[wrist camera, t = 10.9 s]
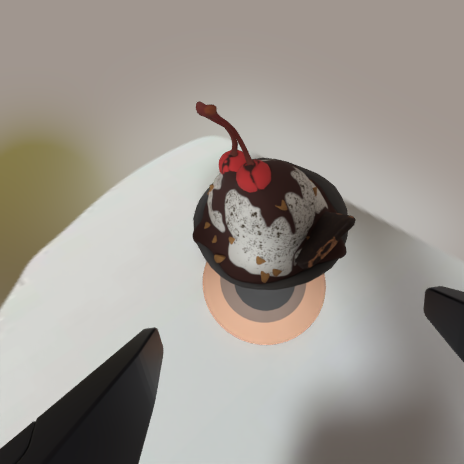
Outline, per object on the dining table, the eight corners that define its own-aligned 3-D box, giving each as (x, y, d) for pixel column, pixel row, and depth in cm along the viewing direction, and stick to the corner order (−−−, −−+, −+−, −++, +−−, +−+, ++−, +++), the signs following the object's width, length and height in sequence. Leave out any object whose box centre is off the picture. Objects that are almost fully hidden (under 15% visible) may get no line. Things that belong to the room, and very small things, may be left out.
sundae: (216, 252, 21) (141, 72, 8) (290, 235, 21) (345, 26, 8) (231, 331, 18) (145, 261, 4) (318, 311, 18) (493, 182, 4)
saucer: (349, 308, 18) (353, 306, 18) (234, 369, 17) (233, 370, 16) (283, 212, 23) (283, 207, 22) (188, 256, 22) (186, 253, 21)
